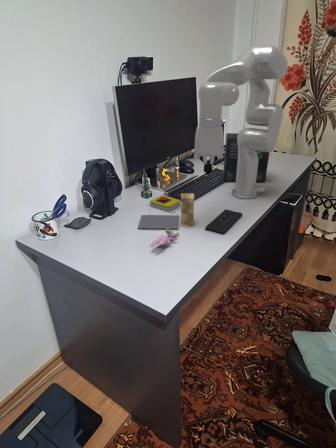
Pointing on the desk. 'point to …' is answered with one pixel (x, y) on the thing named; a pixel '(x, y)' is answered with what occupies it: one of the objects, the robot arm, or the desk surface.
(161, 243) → the pink creature figurine
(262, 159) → the headset box
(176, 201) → the emergency button
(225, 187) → the desk surface
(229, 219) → the smart home device
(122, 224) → the desk surface
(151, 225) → the charcoal mat
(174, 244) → the desk surface
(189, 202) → the oak block
